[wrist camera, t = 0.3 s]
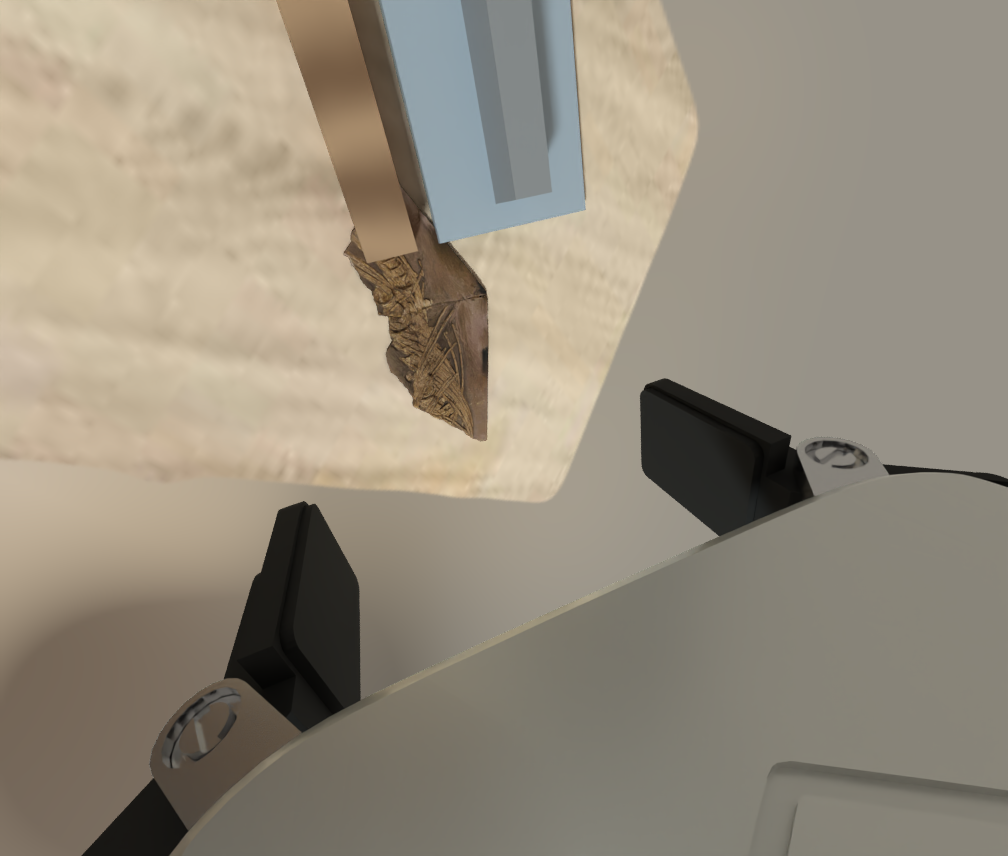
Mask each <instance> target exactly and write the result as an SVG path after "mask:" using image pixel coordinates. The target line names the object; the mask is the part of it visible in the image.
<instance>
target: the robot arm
mask: <svg viewBox="0 0 1008 856" xmlns="http://www.w3.org/2000/svg"><path fill="white" fill-rule="evenodd" d="M640 411H641V457H642V459H641V460H642V469H643V471H644V473H645V475H646V476H647V477H648V478H649V479H651V480H652V481H653V482H654V483H656V484H657V485H658V486H659V487H660V488H662V489H663V490H664V491H665V492H666V493H668V494H669V495H670V496H671V497H672V498H674V499H675V500H676V501H677V502H679V503H680V504H681V505H682V506H683V507H685V508H686V509H687V510H688V511H690V512H691V513H692V514H693V515H694V516H695V517H697V518H698V519H699V520H700V521H702V522H703V523H704V524H705V525H706V526H708V527H709V528H710V529H711V530H712V531H714V532H715V533H716V534H717V535H718V536H719V537H717V538H715V539H713V540H710V541H708V542H706V543H704V544H701V545H699V546H697V547H695V548H692V549H690V550H688V551H685V552H683V553H681V554H679V555H676V556H674V557H672V558H670V559H667V560H665V561H663V562H661V563H659V564H656V565H654V566H652V567H649V568H647V569H645V570H643V571H640V572H638V573H636V574H634V575H631V576H629V577H627V578H625V579H623V580H620V581H618V582H616V583H614V584H612V585H609V586H607V587H605V588H602V589H600V590H598V591H596V592H594V593H592V594H589V595H587V596H585V597H582V598H580V599H578V600H576V601H573V602H571V603H569V604H567V605H565V606H563V607H560V608H558V609H556V610H554V611H551V612H549V613H547V614H545V615H542V616H540V617H538V618H536V619H534V620H532V621H529V622H527V623H525V624H523V625H521V626H519V627H516V628H514V629H512V630H509V631H507V632H505V633H503V634H501V635H498V636H496V637H494V638H492V639H490V640H488V641H485V642H483V643H481V644H479V645H476V646H474V647H472V648H470V649H468V650H466V651H463V652H461V653H459V654H457V655H454V656H452V657H450V658H448V659H446V660H444V661H442V662H440V663H437V664H435V665H433V666H431V667H429V668H427V669H425V670H423V671H421V672H418V673H416V674H414V675H412V676H410V677H408V678H406V679H404V680H401V681H399V682H397V683H395V684H393V685H391V686H389V687H387V688H385V689H383V690H380V691H378V692H376V693H374V694H372V695H370V696H368V697H366V698H364V699H362V700H360V612H359V611H360V610H359V585H358V581H357V578H356V576H355V574H354V572H353V570H352V568H351V567H350V565H349V563H348V561H347V559H346V558H345V556H344V554H343V552H342V550H341V548H340V546H339V545H338V543H337V541H336V539H335V537H334V536H333V534H332V532H331V530H330V529H329V527H328V525H327V523H326V521H325V519H324V517H323V516H322V514H321V512H320V510H319V508H318V507H317V505H316V504H312V505H308V504H307V503H306V502H304V501H303V502H300V503H297V504H294V505H291V506H288V507H286V508H283V509H280V510H279V511H278V514H277V517H276V521H275V524H274V528H273V532H272V535H271V539H270V542H269V546H268V549H267V553H266V556H265V560H264V564H263V568H262V571H261V573H259V574H258V575H256V576H255V578H254V580H253V583H252V586H251V589H250V592H249V596H248V599H247V603H246V606H245V610H244V613H243V616H242V620H241V624H240V626H239V629H238V633H237V637H236V640H235V643H234V646H233V650H232V653H231V656H230V660H229V663H228V666H227V670H226V673H225V677H224V680H221V681H218V682H215V683H212V684H211V685H209V686H207V687H205V688H204V689H202V690H200V691H199V692H197V693H196V694H195V695H194V696H192V697H191V698H190V699H189V700H187V701H186V702H185V703H184V704H183V705H182V706H181V707H180V708H179V709H178V710H177V711H176V712H175V713H174V715H173V716H172V717H171V718H170V719H169V721H168V722H167V723H166V725H165V726H164V728H163V729H162V731H161V732H160V733H159V736H158V738H157V740H156V742H155V744H154V746H153V748H152V752H151V757H150V763H149V765H150V769H151V773H152V776H153V777H154V778H153V779H152V780H151V781H150V783H149V784H148V785H147V786H146V787H145V788H144V789H143V790H142V791H141V792H140V793H139V794H138V796H136V798H135V799H134V800H133V801H132V802H131V803H130V804H129V805H128V806H127V807H126V808H125V809H124V811H123V812H122V813H121V814H120V815H119V816H118V817H117V818H116V819H115V820H114V821H113V822H112V824H111V825H110V826H109V827H108V828H107V829H106V830H105V831H104V832H103V833H102V834H101V835H100V836H99V838H98V839H97V840H96V841H95V842H94V843H93V844H92V845H91V846H90V847H89V848H88V849H87V850H86V851H85V853H84V854H83V855H82V856H1008V479H1006V478H1004V477H1001V476H998V475H994V474H989V473H973V472H965V471H953V470H941V469H929V468H918V467H907V466H895V465H883V464H882V463H881V462H880V460H879V458H878V457H877V456H876V455H875V454H874V453H873V452H872V451H871V450H870V449H868V448H867V447H865V446H863V445H861V444H858V443H856V442H853V441H850V440H845V439H841V438H833V437H815V438H810V439H806V440H804V441H803V442H801V443H799V445H798V446H797V449H796V450H795V449H793V448H791V447H789V445H790V440H791V435H788V434H786V433H784V432H782V431H780V430H777V429H776V428H773V427H771V426H769V425H767V424H765V423H762V422H760V421H758V420H756V419H754V418H752V417H749V416H747V415H745V414H743V413H741V412H738V411H736V410H734V409H732V408H730V407H728V406H725V405H723V404H721V403H719V402H717V401H715V400H712V399H710V398H708V397H706V396H704V395H701V394H699V393H697V392H695V391H693V390H691V389H688V388H686V387H684V386H682V385H680V384H678V383H675V382H673V381H671V380H669V379H661V380H658V381H655V382H652V383H649V384H647V385H646V386H645V388H644V391H642V392H641V395H640Z"/></svg>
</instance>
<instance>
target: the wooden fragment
mask: <svg viewBox="0 0 1008 856" xmlns="http://www.w3.org/2000/svg"><path fill="white" fill-rule="evenodd" d="M400 189H401V192H402V196H403V199H404V203H405V206H406V210H407V213H408V217H409V221H410V224H411V228H412V231H413V235H414V238H415V242H416V246H417V249H418V251H416V252H412V253H408V254H404V255H400V256H396V257H392V258H387V259H383V260H379V261H375V262H371V263H367V261H366V259H365V256H364V253H363V250H362V247H361V244H360V241H359V238H358V235H357V233H356V230H355V229H354V230H352V233H351V243H350V244H349V246H348V248H347V249H346V250H345V252H344V255H345V256H347V257H349V259H350V262H351V265H352V266H353V267H355V269H356V270H357V271H358V273H359V276H360V279H361V280H362V282H363V284H365V285H366V287H367V288H369V289H371V291H372V295H373V296H374V301H375V303H376V305H377V310H378V314H379V315H383V316H388V318H389V333H390V336H391V339H392V342H391V344H390V346H389V348H388V350H387V352H386V357H387V362H388V365H389V368H390V371H391V373H393V374H394V375H396V376H397V377H398V379H399V381H400V382H402V383H403V384H404V386H405V387H406V388H407V389H408V390H409V393H410V394H411V395H412V397H413V406H414V407H416V408H418V409H420V410H422V411H425V412H427V413H429V414H430V415H432V416H433V417H435V418H437V419H441V420H444V421H445V422H447V423H448V424H449V425H452V426H454V427H455V428H458V429H460V430H463V431H464V432H465V433H466V435H468V436H470V437H471V438H473V439H477V440H479V441H486V440H487V378H488V364H487V362H488V334H487V333H488V331H487V329H488V326H487V316H488V315H487V297H486V296H485V297H480V298H479V296H481V295H483V296H484V295H486V291H485V289H484V288H483V287H482V286H481V285H480V284H479V283H478V281H477V280H476V278H475V277H474V276H473V275H472V274H471V273H470V271H469V270H468V269H467V268H466V266H465V265H464V264H463V262H462V261H461V260H460V259H459V258H458V256H457V255H456V254H455V253H454V252H453V250H452V249H451V248H450V246H449V245H448V244H447V243H446V242H445V243H441V244H440V243H439V242H438V238H437V234H436V230H435V228H434V227H433V225H432V224H431V223H430V222H429V220H427V217H426V216H425V215H423V214H422V212H421V210H420V209H419V208H418V207H417V206H416V204H415V203H414V202H413V201H412V199H411V198H410V197H409V196H408V195H407V194H406V192H405V191H404V190H403V188H402V187H401V186H400Z"/></svg>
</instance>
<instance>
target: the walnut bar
mask: <svg viewBox="0 0 1008 856" xmlns="http://www.w3.org/2000/svg"><path fill="white" fill-rule="evenodd" d="M276 1H277V4H278V7H279V10H280V13H281V16H282V18H283V21H284V24H285V27H286V30H287V33H288V36H289V39H290V42H291V44H292V47H293V50H294V53H295V56H296V59H297V62H298V65H299V68H300V71H301V73H302V76H303V79H304V82H305V85H306V88H307V91H308V94H309V97H310V100H311V102H312V105H313V108H314V111H315V114H316V117H317V120H318V123H319V126H320V128H321V131H322V134H323V137H324V140H325V143H326V146H327V149H328V152H329V155H330V157H331V160H332V163H333V166H334V169H335V172H336V175H337V178H338V181H339V183H340V186H341V189H342V192H343V195H344V198H345V201H346V204H347V207H348V210H349V212H350V215H351V218H352V221H353V224H354V227H355V230H356V233H357V235H358V238H359V241H360V244H361V247H362V250H363V253H364V256H365V259H366V261H367V263H371V262H375V261H379V260H383V259H387V258H392V257H396V256H400V255H404V254H408V253H412V252H416V251H418V249H417V246H416V242H415V238H414V235H413V231H412V228H411V224H410V221H409V217H408V213H407V210H406V206H405V203H404V199H403V196H402V192H401V189H400V185H399V181H398V178H397V174H396V171H395V167H394V164H393V160H392V156H391V153H390V149H389V146H388V142H387V139H386V135H385V132H384V128H383V124H382V121H381V117H380V114H379V110H378V107H377V103H376V99H375V96H374V92H373V89H372V85H371V82H370V78H369V75H368V71H367V67H366V64H365V60H364V57H363V53H362V50H361V46H360V42H359V39H358V35H357V32H356V28H355V25H354V21H353V17H352V14H351V10H350V7H349V3H348V0H276Z"/></svg>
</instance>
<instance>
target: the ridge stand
mask: <svg viewBox="0 0 1008 856" xmlns="http://www.w3.org/2000/svg"><path fill="white" fill-rule="evenodd" d="M379 4H380V9H381V13H382V17H383V21H384V25H385V29H386V33H387V37H388V41H389V45H390V49H391V53H392V57H393V61H394V65H395V69H396V74H397V78H398V82H399V86H400V90H401V94H402V98H403V102H404V106H405V110H406V114H407V118H408V122H409V126H410V130H411V134H412V139H413V143H414V147H415V151H416V155H417V159H418V163H419V167H420V171H421V175H422V179H423V183H424V187H425V191H426V195H427V199H428V204H429V208H430V212H431V216H432V220H433V224H434V228H435V230H436V234H437V238H438V242H439V243H440V244H441V243H445V242H449V241H453V240H458V239H462V238H466V237H471V236H475V235H479V234H484V233H488V232H492V231H497V230H501V229H505V228H510V227H514V226H518V225H523V224H527V223H531V222H535V221H540V220H544V219H548V218H553V217H557V216H561V215H566V214H570V213H574V212H579V211H583V210H586V209H585V195H584V182H583V168H582V155H581V141H580V128H579V114H578V100H577V87H576V73H575V60H574V46H573V32H572V19H571V5H570V0H379Z"/></svg>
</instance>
